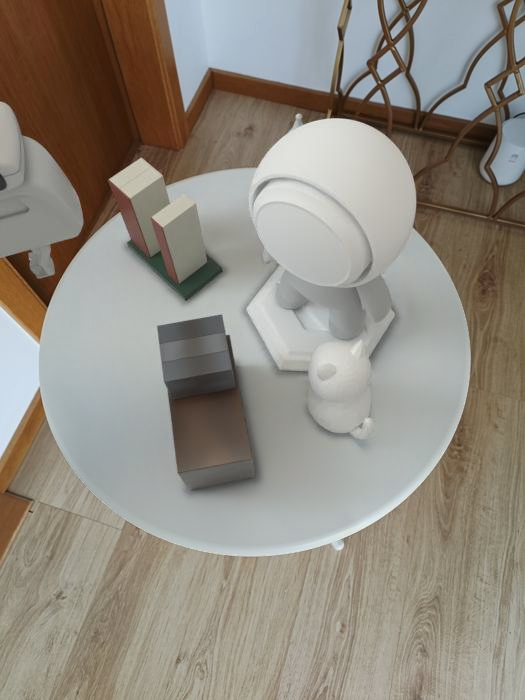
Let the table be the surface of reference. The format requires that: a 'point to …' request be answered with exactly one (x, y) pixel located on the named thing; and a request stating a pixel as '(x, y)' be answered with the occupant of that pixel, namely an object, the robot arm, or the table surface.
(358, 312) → the white toy figurine
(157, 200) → the green book holder
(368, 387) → the cat figurine
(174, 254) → the white book
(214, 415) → the grey stand
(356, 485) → the table surface
